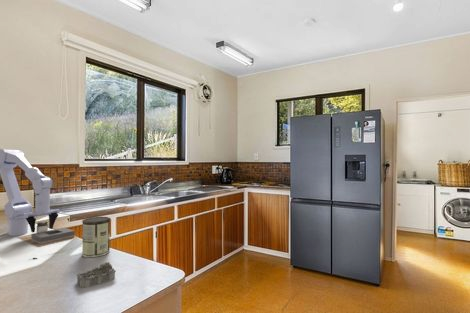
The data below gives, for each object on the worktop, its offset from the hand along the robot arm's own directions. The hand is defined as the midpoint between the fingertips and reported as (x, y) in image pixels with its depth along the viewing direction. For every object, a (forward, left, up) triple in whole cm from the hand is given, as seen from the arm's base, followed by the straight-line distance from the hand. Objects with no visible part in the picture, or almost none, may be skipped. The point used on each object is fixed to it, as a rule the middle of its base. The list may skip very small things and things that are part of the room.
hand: (42, 230), depth 131 cm
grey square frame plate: (+9, +1, -3) cm, 10 cm away
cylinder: (0, 0, -3) cm, 3 cm away
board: (+5, 0, -4) cm, 7 cm away
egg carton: (+66, -10, -4) cm, 67 cm away
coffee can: (+41, +3, -4) cm, 42 cm away
